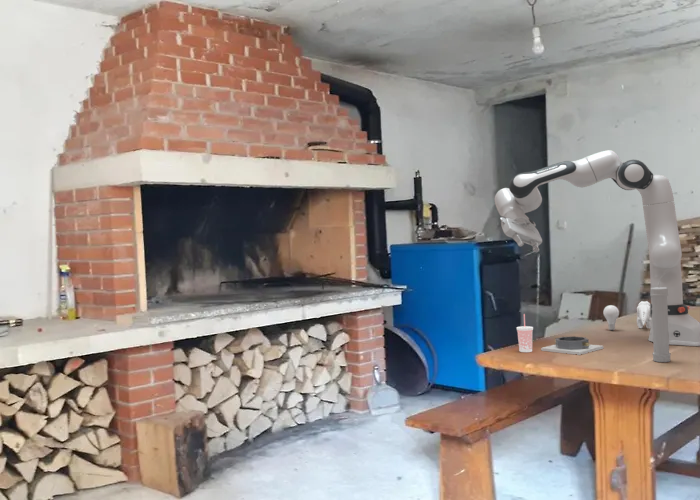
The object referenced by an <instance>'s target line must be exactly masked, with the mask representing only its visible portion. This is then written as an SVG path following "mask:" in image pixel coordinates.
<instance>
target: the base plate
mask: <svg viewBox="0 0 700 500" xmlns="http://www.w3.org/2000/svg"><path fill="white" fill-rule="evenodd" d="M589 345H590V346H589V348H585V349H574V350H568V349H559V348H557V347H556V343H555V344H552V345H551V344H550V345H546V346H543V347H541V348H540V349H541V350H540V351H542V352H548V353H549V352H550V353H560V354H566V353H567V354H569V355H575V354H577V356H581V354H582V355H585V354H589V353H592V351H593V352H596V351H600V350H602V349H604V345H601V344H600V345H599V344H590V343H589ZM588 352H589V353H588Z"/></svg>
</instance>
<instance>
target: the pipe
mask: <svg viewBox="0 0 700 500" xmlns="http://www.w3.org/2000/svg"><path fill="white" fill-rule="evenodd" d="M667 271H668V270H667ZM667 271H666V272H667ZM666 272H665V273H666ZM665 273H664V274H665ZM664 274H663V275H664ZM663 275H662V276H663ZM661 278H662V277H661ZM660 281H661V279H660ZM660 281H659V285H660ZM649 296H650V297H651V296H652V320H653V343H652V344H653V352H652V361H653V362H657V363H669V362H671V356H672V354H671V352H670V344H669V332H668V306H667V296H668V288H666V287H654V288H651V287H650V293H649Z"/></svg>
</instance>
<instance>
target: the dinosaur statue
mask: <svg viewBox="0 0 700 500" xmlns="http://www.w3.org/2000/svg"><path fill="white" fill-rule="evenodd" d="M650 304H651V302H649V301H648V300H646V301H643V300H641V301H640V302H639V303H637V307H636V316H637V317H636V326H637V327H638V329H643V328H644V326H645V327H646V329H649V330H650V329H651V314H650Z"/></svg>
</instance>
